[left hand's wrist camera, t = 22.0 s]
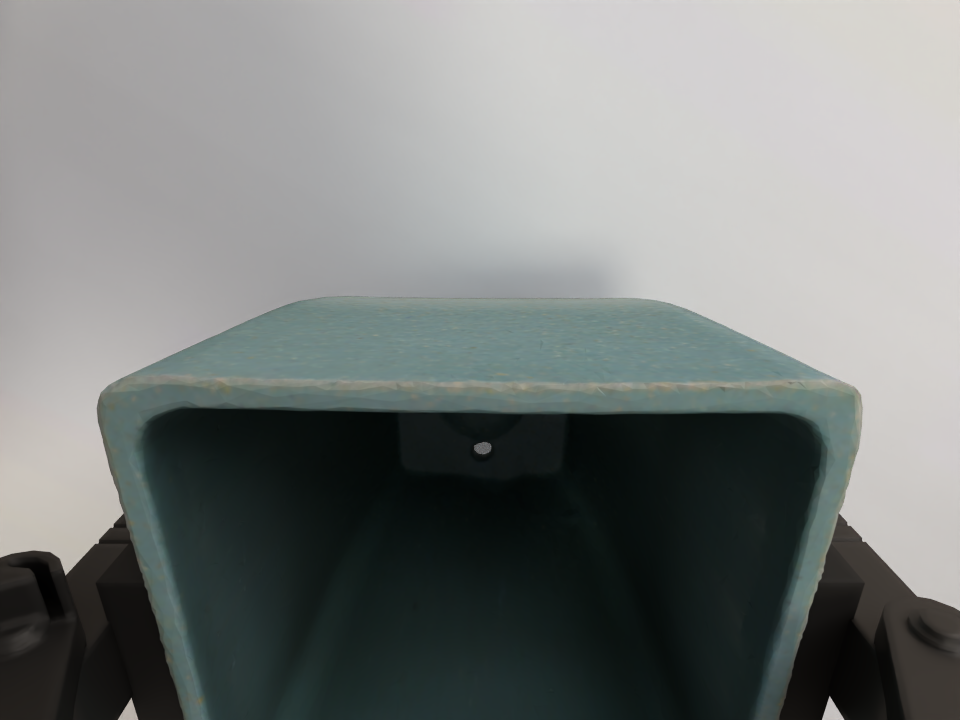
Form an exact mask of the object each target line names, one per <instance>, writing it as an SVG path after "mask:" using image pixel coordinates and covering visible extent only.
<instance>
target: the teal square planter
mask: <svg viewBox="0 0 960 720" xmlns="http://www.w3.org/2000/svg"><path fill="white" fill-rule="evenodd" d="M97 415H98V423H99V427H100V430H101V434H102V438H103V443H104V447H105V451H106V455H107V458H108V463H109V468H110V471H111V475H112V476H113V480H114V484H115V486H116V488H117V491H118V493H119V499H120V504H121V506H122V509H123V512H124V515H125V519H126V525H127V528H128V530H129V532H130V539H131V541H132V543H133V546H134V549H135V553H136V557H137V561H138V564H139V567H140V571H141V572H142V573H143V579H144V581H145V587H146V589H147V591H148V597H149V601H150V603H151V607H152V611H153V613H154V615H155V617H156V622H157V625H158V629H159V633H160V640H161V642H162V644H163V647H164V649H165V657H166V662H167V664H168V666H169V670H170V674H171V676H172V678H173V681H174V684H175V687H176V690H177V694H178V699H179V703H180V707H181V709H182V712H183V717H184V720H779V716H780V712H781V709H782V707H783V705H784V700H785V698H786V693H787V688H788V684H789V681H790V679H791V676H792V669H793V667H794V660H795V657H796V654H797V651H798V647H799V644H800V640H801V639H802V634H803V632H804V630H805V627H806V624H807V621H808V614H809V609H810V607H811V605H812V602H813V598H814V594H815V592H816V591H817V587H818V582H819V581H820V580H821V579H822V573H823V572H824V565H825V559H826V554H827V551H828V549H829V546H830V544H831V541H832V538H833V534H834V530H835V527H836V523H837V519H838V513H839V511H840V509H841V507H842V505H843V502H844V498H845V493H846V489H847V487H848V484H849V480H850V475H851V470H852V467H853V464H854V461H855V457H856V454H857V452H858V449H859V442H860V435H861V427H862V400H861V395H860V393H859V392H858V390H857V389H856V388H855V387H854V386H851V385H849V384H847V383H845V382H842V381H840V380H838V379H836V378H833V377H831V376H829V375H827V374H824V373H822V372H820V371H818V370H816V369H814V368H812V367H810V366H808V365H806V364H804V363H802V362H800V361H798V360H796V359H794V358H792V357H790V356H787V355H785V354H783V353H781V352H779V351H777V350H775V349H773V348H771V347H768V346H766V345H764V344H762V343H760V342H758V341H756V340H754V339H751V338H749V337H747V336H745V335H743V334H741V333H738V332H736V331H734V330H732V329H730V328H728V327H726V326H724V325H721V324H719V323H717V322H714V321H712V320H710V319H708V318H706V317H704V316H701V315H699V314H697V313H694V312H692V311H689V310H687V309H685V308H681V307H678V306H675V305H673V304H669V303H665V302H660V301H655V300H647V299H637V298H591V299H567V298H392V297H353V296H345V297H324V298H317V299H311V300H304V301H298V302H295V303H292V304H288V305H286V306H283V307H280V308H278V309H275V310H272V311H270V312H268V313H265V314H263V315H260V316H258V317H256V318H253V319H251V320H249V321H246V322H244V323H242V324H240V325H238V326H235V327H233V328H231V329H229V330H227V331H225V332H223V333H220V334H218V335H216V336H213V337H211V338H209V339H206V340H204V341H202V342H200V343H198V344H195V345H193V346H191V347H189V348H187V349H184V350H182V351H180V352H178V353H175V354H173V355H171V356H169V357H167V358H165V359H162V360H160V361H158V362H156V363H154V364H152V365H150V366H147V367H145V368H143V369H141V370H139V371H136V372H134V373H132V374H130V375H128V376H126V377H123V378H121V379H119V380H117V381H116V382H114V383H112V384H110V385H108V386H107V387H106V388H105V389H104V390H103V391H102V392H101V394H100V397H99V400H98V405H97ZM481 442H488V443H490V444H491V446H492V449H491V451H490V452H489V453H487V454H478V453H477V452H476V451H475V450H474V445H476V444H478V443H481Z"/></svg>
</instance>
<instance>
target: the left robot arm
mask: <svg viewBox="0 0 960 720" xmlns="http://www.w3.org/2000/svg"><path fill="white" fill-rule="evenodd" d="M829 696H830V697H831V699H832V700H833V702H834V704H835V705H836V707H837V708H838V710H839V712H840V713H841V715H842V716H843V718H844V720H960V611H959V610H957V609H955V608H953V607H951V606H948V605H945V604H943V603H940V602H937V601H935V600H932V599H927V598H921V597H917V596H916V595H915V594H914V593H913V592H912V591H911V590H910V589H909V588H908V586H907V585H906V584H905V583H904V582H903V581H902V580H901V579H900V578H899V577H898V576H897V575H896V574H895V573H894V572H893V571H892V569H891V568H890V567H889V566H888V565H887V564H886V563H885V562H884V561H883V560H882V559H881V558H880V557H879V556H878V555H877V554H876V552H875V551H874V550H873V549H872V548H871V547H870V546H869V545H868V544H867V543H866V542H862V538H861V536H860V535H859V534H858V533H857V532H856V531H855V530H854V529H853V528H852V527H851V526H848V525H847V522H846V521H845V519H844V518H843V517H842V516H841V515H840V514H839V513H838V519H837V523H836V527H835V530H834V534H833V538H832V541H831V544H830V546H829V549H828V551H827V554H826V559H825V565H824V572H823V573H822V579H821V580H820V581H819V582H818V587H817V591H816V592H815V594H814V598H813V602H812V605H811V607H810V609H809V614H808V621H807V624H806V627H805V630H804V632H803V634H802V639H801V640H800V644H799V647H798V651H797V654H796V657H795V660H794V667H793V669H792V676H791V679H790V681H789V684H788V688H787V693H786V698H785V700H784V705H783V707H782V709H781V712H780V716H779V720H822V718H823V715H824V711H825V708H826V705H827V702H828V699H829ZM131 698H132V701H133V704H134V707H135V710H136V713H137V717H138V720H184V717H183V712H182V709H181V707H180V703H179V699H178V694H177V690H176V687H175V684H174V681H173V678H172V676H171V674H170V670H169V666H168V664H167V662H166V657H165V649H164V647H163V644H162V642H161V640H160V633H159V629H158V625H157V622H156V617H155V615H154V613H153V611H152V607H151V603H150V601H149V597H148V591H147V589H146V587H145V581H144V579H143V573H142V572H141V571H140V567H139V564H138V561H137V557H136V553H135V549H134V546H133V543H132V541H131V539H130V532H129V530H128V528H127V525H126V519H125V515H124V514H123V515H122V516H121V517H120V518H119V519H118V520H117V521H116V522H115V523H114V527H113V528H110V529H109V530H108V531H107V532H106V533H105V534H104V535H103V536H102V537H101V538H100V539H99V544H95V545H94V546H93V547H92V548H91V549H90V550H89V551H88V552H87V553H86V554H85V556H84V557H83V558H82V559H81V560H80V561H79V562H78V563H77V564H76V565H75V566H74V567H73V568H72V569H71V571H70V572H69V573H68V574H67V575H66V576H65V573H64V570H63V567H62V564H61V561H60V559H59V558H58V557H56V556H55V555H53V554H52V553H50V552H43V551H28V552H21V553H14V554H10V555H7V556H4V557H1V558H0V720H118V718H119V717H120V715H121V714H122V712H123V710H124V709H125V707H126V705H127V704H128V702H129V701H130V699H131Z"/></svg>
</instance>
